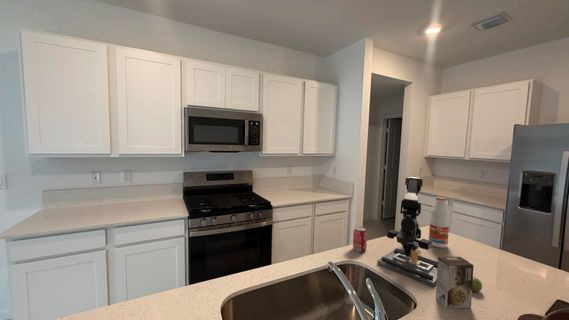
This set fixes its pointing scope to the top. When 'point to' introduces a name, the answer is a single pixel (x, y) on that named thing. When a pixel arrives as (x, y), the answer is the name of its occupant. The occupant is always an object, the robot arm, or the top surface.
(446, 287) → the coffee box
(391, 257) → the panel
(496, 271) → the top surface
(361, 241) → the soda can
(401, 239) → the robot arm
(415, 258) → the breaker lever
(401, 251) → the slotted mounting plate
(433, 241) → the fruit juice
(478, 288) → the pear
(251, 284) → the top surface
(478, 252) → the top surface
